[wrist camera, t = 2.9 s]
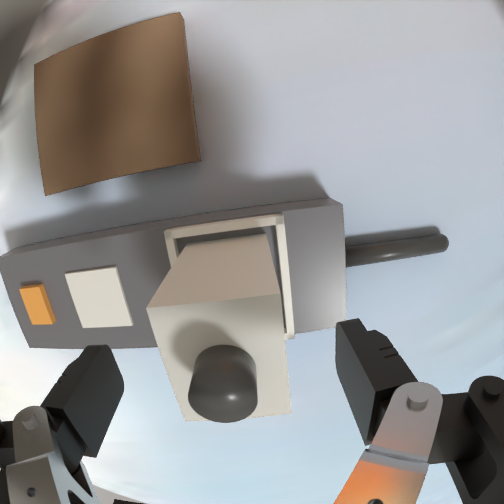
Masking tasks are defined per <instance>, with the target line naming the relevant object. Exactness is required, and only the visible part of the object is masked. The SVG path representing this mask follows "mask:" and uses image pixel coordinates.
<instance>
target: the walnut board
mask: <svg viewBox="0 0 504 504" xmlns="http://www.w3.org/2000/svg"><path fill="white" fill-rule="evenodd" d="M34 95H35V117H36V131H37V142H38V151H39V159H40V167H41V174H42V180H43V186H44V192H45V196H48V195H51V194H55V193H58V192H62V191H65V190H69V189H73V188H76V187H80V186H84V185H88V184H92V183H96V182H100V181H104V180H108V179H112V178H116V177H121V176H125V175H130V174H134V173H139V172H143V171H148V170H153V169H158V168H163V167H169V166H174V165H179V164H185V163H191V162H197V161H201V158H200V151H199V143H198V136H197V129H196V121H195V114H194V106H193V98H192V90H191V81H190V73H189V64H188V55H187V46H186V36H185V26H184V19H183V17H182V15H181V13H180V12H179V13H174V14H170V15H166V16H162V17H158V18H154V19H150V20H146V21H143V22H139V23H136V24H133V25H129V26H126V27H123V28H120V29H117V30H114V31H111V32H108V33H105V34H103V35H100V36H97V37H95V38H92V39H89V40H87V41H84V42H82V43H79V44H77V45H75V46H72V47H70V48H68V49H66V50H63V51H61V52H59V53H57V54H55V55H53V56H51V57H48V58H46V59H44V60H42V61H40V62H39V63H37V64H35V65H34Z"/></svg>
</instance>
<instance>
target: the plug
mask: <svg viewBox="0 0 504 504" xmlns="http://www.w3.org/2000/svg"><path fill="white" fill-rule="evenodd" d="M146 310H147V313H148V316H149V320H150V323H151V326H152V330H153V333H154V336H155V339H156V342H157V345H158V348H159V351H160V354H161V357H162V360H163V363H164V366H165V369H166V372H167V375H168V377H169V380H170V383H171V386H172V388H173V391H174V394H175V396H176V399H177V402H178V404H179V407H180V409H181V412H182V414H183V417H184V419H185V421H210V420H211V421H215V422H221V423H230V422H236V421H240V420H242V419H245V418H254V417H264V416H273V415H281V414H289V413H291V401H290V389H289V378H288V366H287V355H286V344H285V334H284V323H283V313H282V303H281V293H280V289H279V285H278V281H277V277H276V272H275V268H274V264H273V260H272V256H271V252H270V248H269V243H268V239H267V235H266V233H265V234H257V235H249V236H242V237H234V238H226V239H219V240H211V241H204V242H197V243H189V244H186V246H185V247H184V249H183V250H182V252H181V254H180V255H179V257H178V258H177V260H176V261H175V263H174V264H173V266H172V267H171V269H170V271H169V272H168V274H167V275H166V277H165V278H164V280H163V282H162V283H161V285H160V286H159V288H158V289H157V291H156V293H155V294H154V296H153V297H152V299H151V301H150V302H149V304H148V306H147V307H146Z"/></svg>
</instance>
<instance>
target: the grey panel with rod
mask: <svg viewBox="0 0 504 504" xmlns="http://www.w3.org/2000/svg"><path fill="white" fill-rule="evenodd" d="M265 233H266V235H267V239H268V243H269V248H270V252H271V256H272V260H273V264H274V268H275V272H276V277H277V281H278V285H279V289H280V293H281V303H282V313H283V323H284V334H285V340H286V339H293V338H295V334H297V333H304V332H311V331H317V330H323V329H329V328H335V327H336V323H337V322H341V321H346V267H352V266H358V265H365V264H372V263H378V262H385V261H391V260H397V259H404V258H410V257H416V256H422V255H428V254H434V253H440V252H444V251H445V250H446V249H447V248H448V245H449V241H448V239H447V237H446V236H445V235H443V234H437V235H430V236H422V237H415V238H408V239H400V240H393V241H386V242H378V243H371V244H363V245H356V246H348V247H345V235H344V217H343V204H341V203H339V202H337V201H335V200H333V199H331V198H323V199H314V200H305V201H296V202H287V203H279V204H271V205H263V206H255V207H247V208H239V209H232V210H225V211H218V212H211V213H204V214H197V215H190V216H184V217H177V218H171V219H165V220H158V221H152V222H146V223H140V224H134V225H129V226H123V227H117V228H112V229H106V230H101V231H95V232H90V233H85V234H80V235H74V236H69V237H64V238H59V239H55V240H50V241H45V242H40V243H35V244H31V245H26V246H22V247H17V248H15V249H13V250H11V251H9V252H7V253H5V254H3V255H2V256H0V272H1V275H2V278H3V281H4V284H5V287H6V290H7V293H8V296H9V299H10V302H11V304H12V307H13V310H14V312H15V315H16V317H17V320H18V322H19V325H20V327H21V329H22V332H23V334H24V336H25V339H26V341H27V343H28V345H29V347H30V348H54V349H85V348H86V347H87V346H88V345H104V344H106V345H108V346H109V347H110V349H124V348H151V347H158V345H157V342H156V339H155V336H154V333H153V330H152V326H151V323H150V320H149V316H148V313H147V310H146V307H147V306H148V304H149V302H150V301H151V299H152V297H153V296H154V294H155V293H156V291H157V289H158V288H159V286H160V285H161V283H162V282H163V280H164V278H165V277H166V275H167V274H168V272H169V271H170V269H171V267H172V266H173V264H174V263H175V261H176V260H177V258H178V257H179V255H180V254H181V252H182V250H183V249H184V247H185V246H186V244H189V243H197V242H204V241H211V240H219V239H226V238H234V237H242V236H249V235H257V234H265Z"/></svg>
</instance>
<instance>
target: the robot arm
mask: <svg viewBox="0 0 504 504" xmlns="http://www.w3.org/2000/svg"><path fill="white" fill-rule="evenodd" d="M335 361H336V369H337V374H338V377H339V379H340V382H341V384H342V387H343V389H344V392H345V394H346V397H347V400H348V402H349V405H350V407H351V410H352V412H353V415H354V418H355V420H356V423H357V425H358V428H359V431H360V433H361V436H362V439H363V441H364V444H365V446H366V445H370V444H371V445H370V447H369V449H365V451H364V452H363V454H362V455H361V457H360V459H359V461H358V463H357V464H356V466H355V468H354V470H353V472H352V473H351V475H350V477H349V479H348V480H347V482H346V484H345V486H344V487H343V489H342V491H341V492H340V494H339V496H338V497H337V499H336V500H335V502H334V504H415V503H416V501H417V498H418V496H419V493H420V490H421V488H422V485H423V482H424V479H425V476H426V473H427V470H428V466H429V464H437V463H446V465H447V467H448V470H449V472H450V474H451V476H452V479H453V481H454V483H455V485H456V488H457V490H458V493H459V495H460V497H461V500H462V502H463V504H504V380H503V379H501V378H499V377H495V376H483V377H479V378H477V379H476V380H474V381H473V382H472V384H471V386H470V388H469V391H468V392H466V393H456V394H441V393H440V391H439V390H438V389H437V388H436V387H434V386H432V385H431V384H428V383H424V382H418V381H417V379H416V378H415V376H414V375H413V373H412V372H411V370H410V369H409V367H408V366H407V365H406V363H405V362H404V360H403V359H402V357H401V356H400V355H399V354H398V352H397V350H396V349H395V348H393V345H392V343H391V342H390V341H389V339H388V338H387V336H385V335H383V334H382V333H380V332H378V331H376V330H371V331H367V330H366V328H365V327H364V325H363V324H362V322H361V321H360V319H358V318H357V319H352V320H346V321H341V322H337V323H336V355H335ZM123 392H124V381H123V377H122V375H121V373H120V370H119V368H118V366H117V363H116V361H115V358H114V356H113V353H112V351H111V349H110V347H109V346H108V345H106V344H104V345H88V346H87V347H86V348H85V349H84V351H83V352H82V353H81V355H80V356H79V358H77V359H76V360H74V361H73V362H72V363H71V364H69V365H68V366H67V368H66V369H65V371H64V372H63V373H62V376H60V378H59V379H58V381H57V383H55V385H54V386H53V388H52V389H51V391H50V392H49V394H48V395H47V397H46V398H45V400H44V401H43V403H42V404H41V406H30V407H27V408H25V409H23V410H21V411H20V412H19V413H18V414H17V415H16V416H15V418H14V420H13V421H4V422H1V420H0V468H1V470H0V504H101V503H100V501H99V499H98V497H97V495H96V492H95V490H94V488H93V485H92V483H91V480H90V478H89V476H88V473H87V470H86V468H85V466H84V464H83V463H82V461H81V459H82V457H83V456H88V457H94V458H96V457H97V454H98V452H99V449H100V447H101V444H102V442H103V439H104V437H105V435H106V432H107V430H108V427H109V425H110V423H111V420H112V418H113V416H114V413H115V411H116V409H117V406H118V404H119V402H120V399H121V397H122V395H123ZM113 504H143V503H135V502H128V501H123V500H117V499H114V503H113Z"/></svg>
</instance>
